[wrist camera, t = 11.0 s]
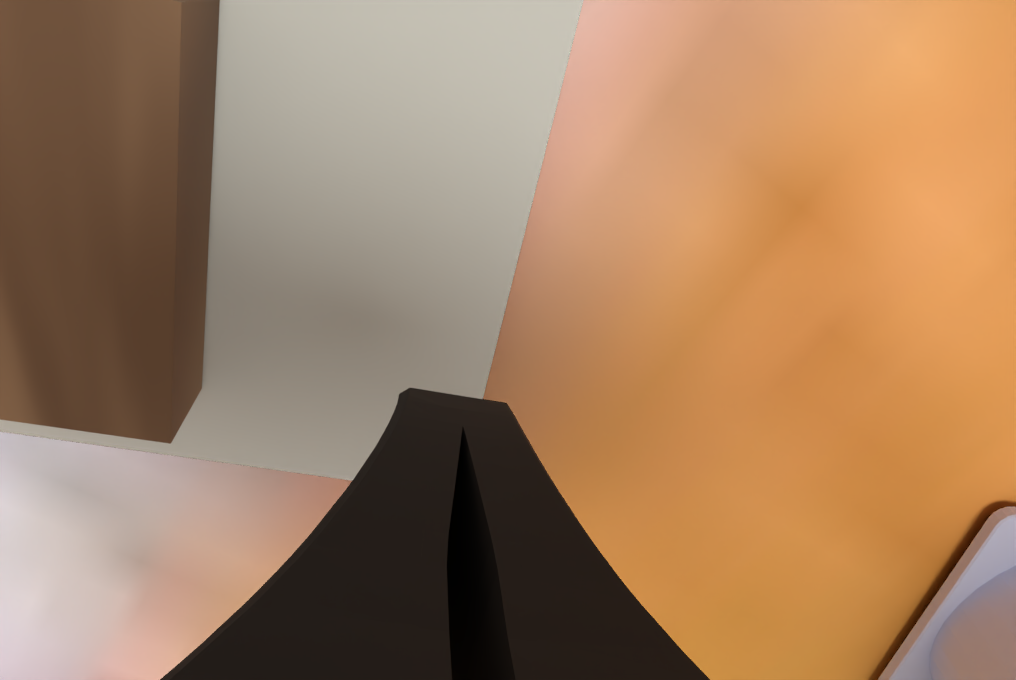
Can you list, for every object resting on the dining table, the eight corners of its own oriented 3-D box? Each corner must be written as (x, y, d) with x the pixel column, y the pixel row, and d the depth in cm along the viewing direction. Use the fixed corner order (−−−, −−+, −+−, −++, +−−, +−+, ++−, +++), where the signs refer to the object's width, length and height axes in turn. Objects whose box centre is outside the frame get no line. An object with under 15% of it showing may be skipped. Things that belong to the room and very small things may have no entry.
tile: (181, 1, 11) (-293, -107, 10) (170, 443, 14) (-176, 394, 14) (220, -8, 13) (-177, -102, 12) (202, 387, 16) (-102, 340, 15)
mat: (663, -341, 11) (672, -353, 11) (458, 482, 19) (458, 495, 18) (-620, -767, 9) (-678, -804, 8) (-275, 377, 16) (-296, 390, 16)
